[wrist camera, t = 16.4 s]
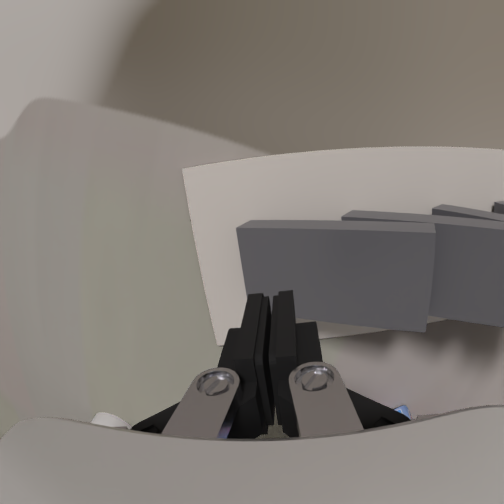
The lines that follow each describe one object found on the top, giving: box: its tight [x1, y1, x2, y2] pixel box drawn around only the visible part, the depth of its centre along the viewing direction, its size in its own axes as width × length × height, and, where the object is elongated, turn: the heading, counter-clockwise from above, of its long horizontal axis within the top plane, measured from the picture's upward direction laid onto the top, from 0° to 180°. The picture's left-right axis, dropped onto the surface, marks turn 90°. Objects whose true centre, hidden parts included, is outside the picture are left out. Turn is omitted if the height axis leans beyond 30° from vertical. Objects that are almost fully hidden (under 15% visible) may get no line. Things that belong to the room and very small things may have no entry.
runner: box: [182, 147, 504, 345], centre depth 17 cm, size 12×35×1 cm, turn 98°
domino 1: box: [236, 220, 436, 332], centre depth 15 cm, size 2×5×10 cm
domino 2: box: [341, 210, 504, 327], centre depth 14 cm, size 2×5×10 cm
